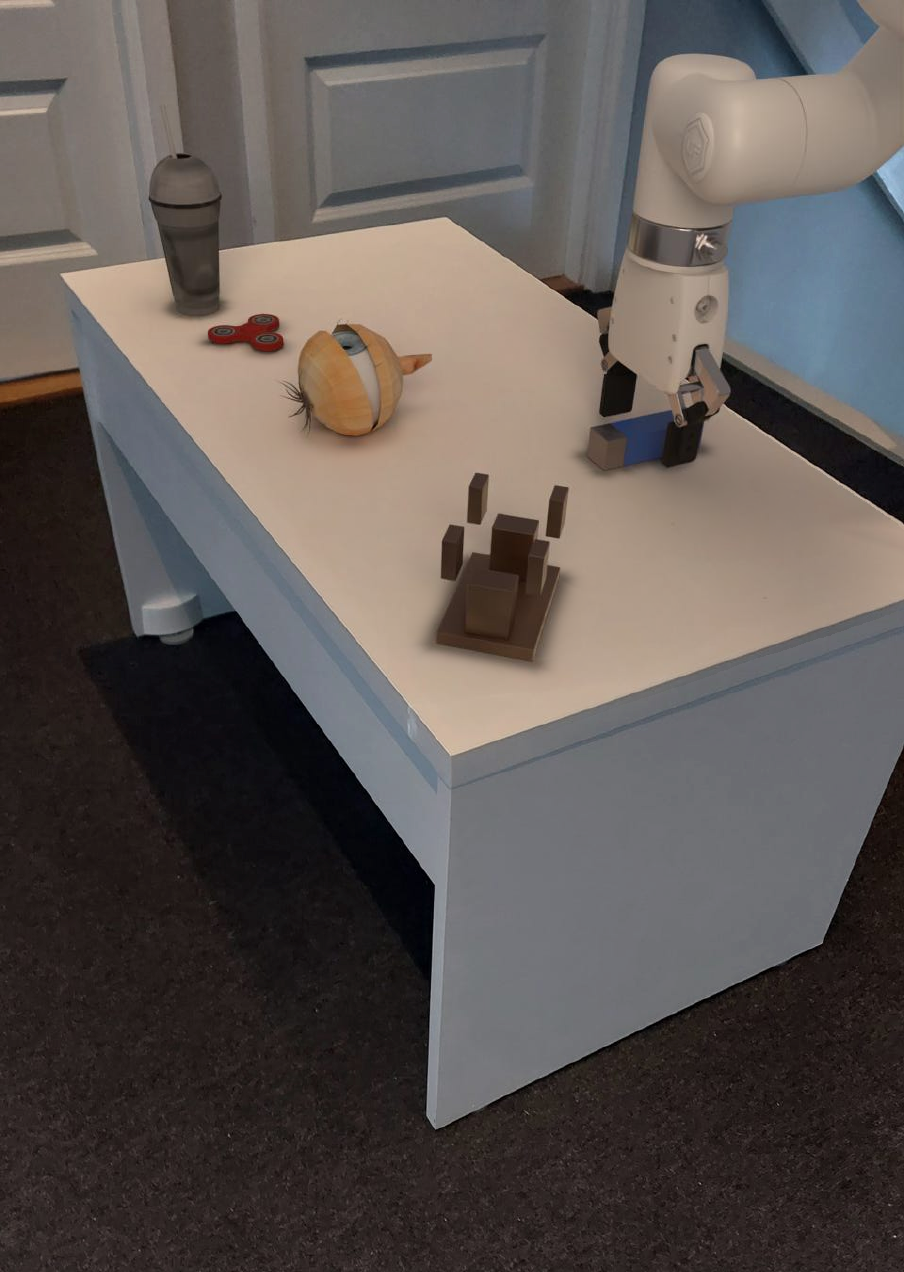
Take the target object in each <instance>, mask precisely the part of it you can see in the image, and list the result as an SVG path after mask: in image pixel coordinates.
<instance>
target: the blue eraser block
mask: <svg viewBox="0 0 904 1272" xmlns="http://www.w3.org/2000/svg"><path fill="white" fill-rule="evenodd" d="M685 407H686V409H687V408H688V407H687V406H685ZM672 421H674V418H673V414H672V410H671V409H668V410H665V411H660V412H654V413H650V414H646V415H641V416H636V417H631V418H628V419H622V420H618V421H613V422H609V423H604V424H599V425H595V426H591V427H590V428H589V436H588V443H587V444H588V445H587V452H586V457H587V458H589V460H591V461H592V462H593V463H594V464H595V465H597V467H598V468H601V470H602V471H608V470H613V469H616V468H622V467H627V466H630V465H635V464H639V463H643V462H648V461H652V460H657V459H662V453H663V447H664V442H665V436H666V430H667V425H668V422H672ZM704 427H705V422H703V426H702V431H701V436H700V441H699V446H698V450H699V449H700V447H701V443H702V442H701V441H702V437H703V432H704Z"/></svg>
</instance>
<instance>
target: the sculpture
mask: <svg viewBox="0 0 904 1272" xmlns="http://www.w3.org/2000/svg"><path fill="white" fill-rule="evenodd" d="M341 320H342V318H340V319H339V320H338V321H337V323H336V326H335V327H334V329H333V331H332V332H331V333H329V332H328V331H327V330H318V331H317V332H315V334H313V335H312V336H311V337H309V338H308V339H307V341H306V342H305V344H304V346H303V347H302V349H301V351H300V354H299V358H298V366H297V375H298V376H297V379H298V388H297V387H296V386H295V385H293V384H292V383H290V382H289V381H285V380H283V382H284V383H283V382H282V381H279V380H276V379H275V381H276V382H278V383H280V384H281V385H283V386H285V389H286V390H285V391H286V392H287V394H288V395H289V396H290V397H287V396H284V395H280V394H279V396H280V397H283V398H285V399H288V400H291V401H294V402H296V403H300V404H302V405H301V406H300V407H299V409H298V410H297V411H296V412H295V413H293V414H292V415H289V418H292V417H295V416H298V415H300V414H302V413H303V412H304V411H305V416H304V418H305V424H304V427H303V428H302V429H301V431H300V432H299V434H301V432H303V433H305V432H306V430H307V428H308V425H309V428H308V433H307V435H306V436H307V437H306V438H308V436H309V434H310V431H311V427H312V426H311V425H312V424H311V423H312V416H311V414H312V415H313V416H314V417H315V418H316V419H317V421H318V422H320V423H321V424H323V426H324V428H325V429H327V428H328V429H329V430H331V431H332V432H333V431H334V433H336V434H340V435H345V436H354V437H355V436H362V435H365V434H368V433H372V432H374V431H376V430H377V429H379V428H381V427H383V426H384V425H385V423H386V422H387V421H388V420H389V419H390V417H391V416H392V414H393V413H394V411H395V410H396V409H397V406H398V404H399V401H400V399H401V396H402V394H403V385H404V376H407V375H408V376H409V375H412V374H414V373H416V372H417V371H418V370H420V369H422V368H423V367H425V366H427V365H428V364H430V363H431V362H432V361H433V353H420V354H408V355H400V356H398V355H397V353H396V351H395V350H394V349H393V346H391V344H390V343H389V341H388V340H387V338H386V337H385V336H383V335H380V334H379V333H377V332H375V331H373V330H371V329H370V328H368V327H366V326H364V325H363V324H360V323H348V322H349V321H350V320H351V318H350V319H348V320H347V321H346V323H341V324H339V322H340V321H341ZM285 383H287V384H288V385H290V386H291V387H292V388H291V387H289V386H288V385H287V384H285ZM287 388H288V389H289V390H290V391H291V392H292V393H293V394H295V395H292V394H291V393H290V392H289V390H288V389H287Z"/></svg>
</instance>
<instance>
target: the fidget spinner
mask: <svg viewBox="0 0 904 1272" xmlns="http://www.w3.org/2000/svg"><path fill="white" fill-rule="evenodd" d="M278 328H280V319H279V317H278V316H277V315H274V314H271V313H258V314H253V315H251V316H249V318H247V322H245V323H243V324H242V325H231V324H230V325H229V324H220V325H214V326H212V327H210V328H209V329H208V330H207V338H208V340H209V341H210V342H212V343H215V344H229V343H234V342H245V343H249V344H250V345H251V347H252V348H253V349H255V350H258V351H263V352H270V351H276V350H280V349H281V348H283V346H284V343H285V341H284V337H283V336H282V334H279V333H276V332H272V331H274V330H276V329H278Z"/></svg>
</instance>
